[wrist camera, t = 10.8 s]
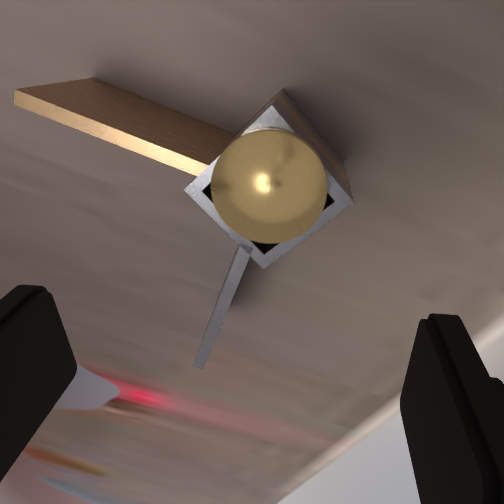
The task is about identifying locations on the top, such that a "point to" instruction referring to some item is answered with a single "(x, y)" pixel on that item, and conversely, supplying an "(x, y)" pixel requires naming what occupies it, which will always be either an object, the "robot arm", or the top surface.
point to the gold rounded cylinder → (269, 185)
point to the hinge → (188, 157)
